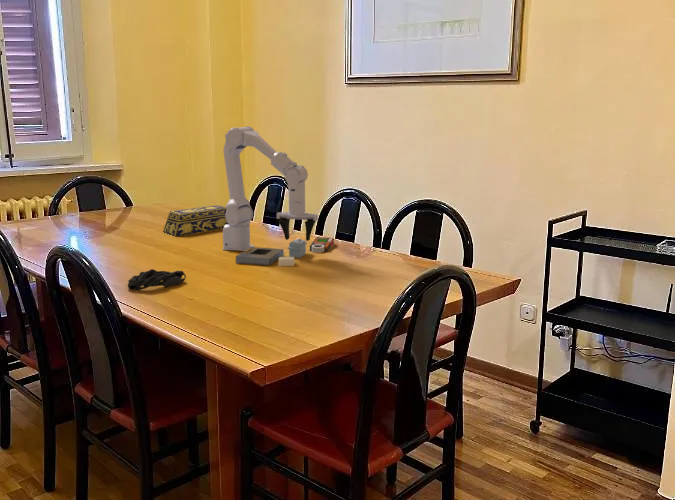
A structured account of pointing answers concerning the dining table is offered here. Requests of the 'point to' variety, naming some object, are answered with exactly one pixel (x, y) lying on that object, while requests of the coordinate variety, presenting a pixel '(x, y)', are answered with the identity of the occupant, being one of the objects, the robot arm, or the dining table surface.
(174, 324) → the dining table surface
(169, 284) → the cable
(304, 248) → the block
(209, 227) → the decorative box
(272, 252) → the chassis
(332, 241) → the electronic device
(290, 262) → the box
